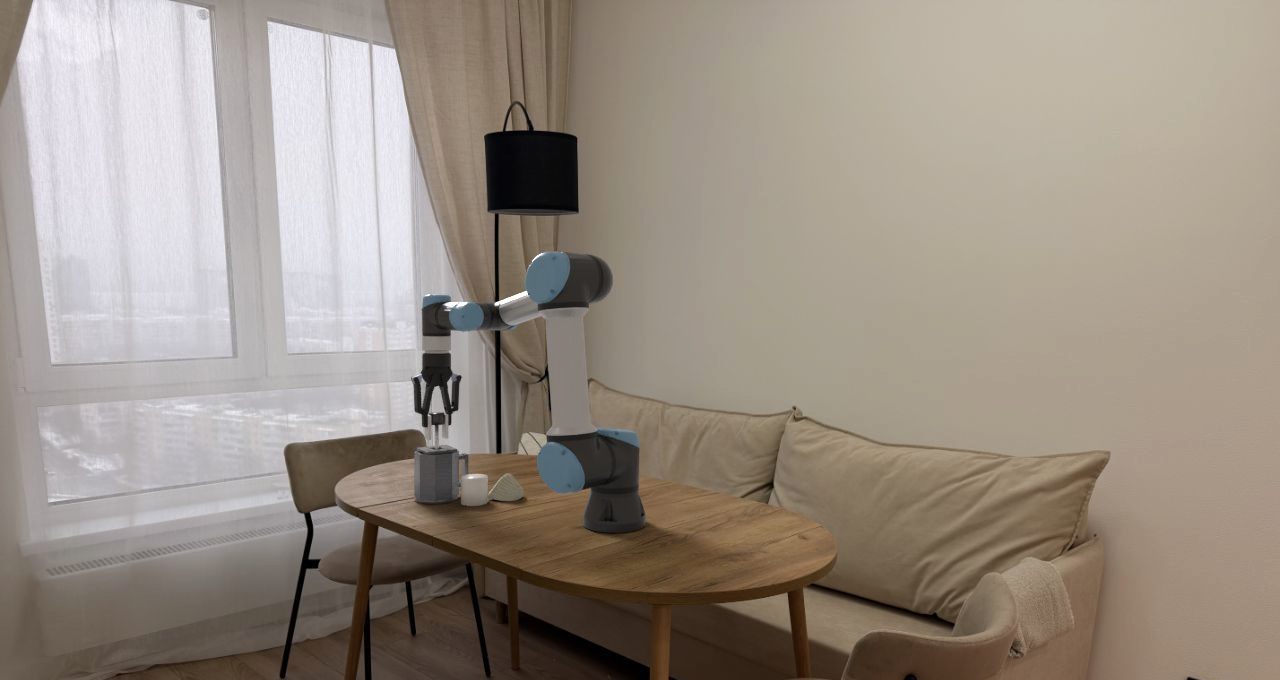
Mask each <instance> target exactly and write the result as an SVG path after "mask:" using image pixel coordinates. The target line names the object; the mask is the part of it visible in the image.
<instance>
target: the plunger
mask: <svg viewBox="0 0 1280 680" xmlns="http://www.w3.org/2000/svg"><path fill="white" fill-rule="evenodd" d="M444 413H445V411H444V412H443V411H433V412H429V414H428V415H431V426H434V446H435V449H439V445H440V443H439V441H440V439H439V437H440V436H439V435H440V434H439V431H440V430H439V426H442V425H443V424H444ZM435 455H438V454H435Z"/></svg>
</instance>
